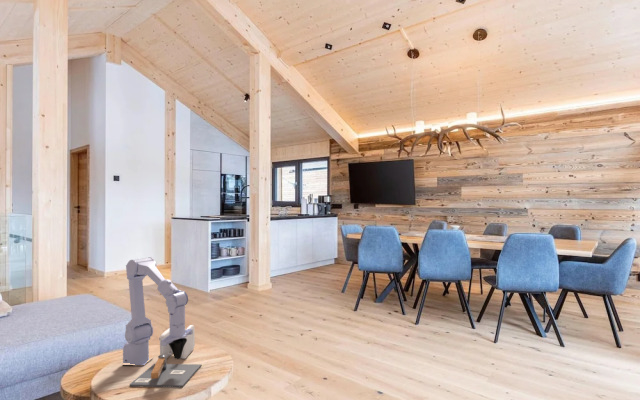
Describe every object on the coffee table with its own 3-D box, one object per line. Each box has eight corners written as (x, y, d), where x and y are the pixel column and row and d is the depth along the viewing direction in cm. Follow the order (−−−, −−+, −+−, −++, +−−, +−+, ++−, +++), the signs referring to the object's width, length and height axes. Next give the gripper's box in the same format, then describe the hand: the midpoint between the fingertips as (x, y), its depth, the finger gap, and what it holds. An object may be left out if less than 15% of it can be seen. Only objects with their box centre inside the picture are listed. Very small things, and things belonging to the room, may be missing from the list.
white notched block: (183, 362, 160) (183, 334, 160) (158, 362, 160) (158, 335, 160) (195, 348, 175) (194, 323, 175) (172, 349, 175) (172, 324, 175)
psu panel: (129, 386, 139) (129, 383, 139) (154, 365, 157) (154, 363, 157) (182, 387, 138) (182, 384, 138) (201, 366, 156) (201, 363, 156)
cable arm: (159, 367, 153) (159, 354, 153) (167, 367, 153) (167, 354, 153) (150, 386, 136) (150, 372, 137) (159, 385, 137) (159, 371, 137)
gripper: (170, 330, 140) (171, 367, 140) (198, 319, 154) (198, 352, 153) (156, 328, 143) (157, 364, 143) (184, 317, 156) (185, 350, 156)
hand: (177, 358), depth 148 cm, fingers closed
